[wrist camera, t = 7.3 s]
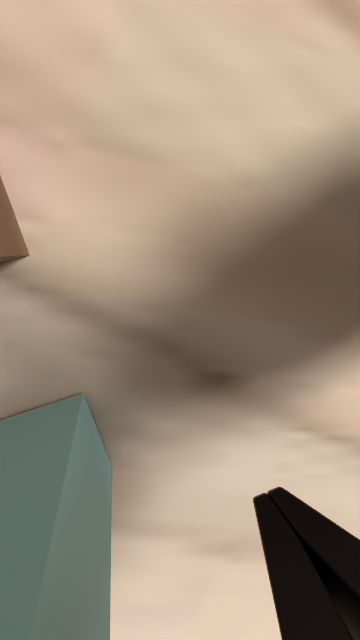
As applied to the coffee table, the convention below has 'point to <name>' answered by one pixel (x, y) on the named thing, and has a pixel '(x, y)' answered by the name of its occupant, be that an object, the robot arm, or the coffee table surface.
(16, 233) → the walnut block
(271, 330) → the coffee table surface
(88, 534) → the teal block
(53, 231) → the coffee table surface
